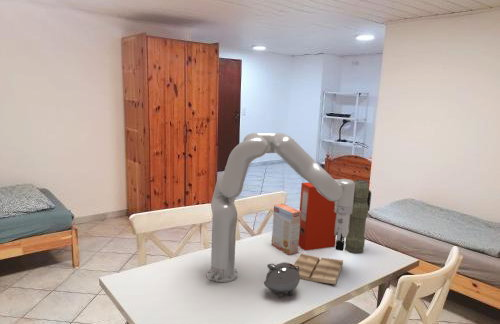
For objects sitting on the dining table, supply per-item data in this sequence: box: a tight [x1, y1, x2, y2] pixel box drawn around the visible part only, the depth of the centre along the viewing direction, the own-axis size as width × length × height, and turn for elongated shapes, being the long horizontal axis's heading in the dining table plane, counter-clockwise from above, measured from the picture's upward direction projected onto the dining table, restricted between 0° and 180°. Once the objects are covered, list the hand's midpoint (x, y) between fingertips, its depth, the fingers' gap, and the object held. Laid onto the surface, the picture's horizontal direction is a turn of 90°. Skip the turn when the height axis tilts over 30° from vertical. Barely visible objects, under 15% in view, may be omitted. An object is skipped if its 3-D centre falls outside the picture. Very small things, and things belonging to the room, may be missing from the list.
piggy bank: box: [263, 262, 301, 299], centre depth 137 cm, size 11×15×12 cm
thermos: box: [344, 179, 372, 255], centre depth 176 cm, size 9×12×35 cm
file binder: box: [298, 182, 337, 252], centre depth 179 cm, size 8×17×32 cm, turn 111°
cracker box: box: [271, 203, 301, 256], centre depth 175 cm, size 14×6×21 cm, turn 33°
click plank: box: [311, 257, 344, 285], centre depth 154 cm, size 20×10×2 cm, turn 157°
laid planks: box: [293, 253, 321, 282], centre depth 158 cm, size 20×9×2 cm, turn 157°
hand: (339, 249), depth 156 cm, fingers closed
